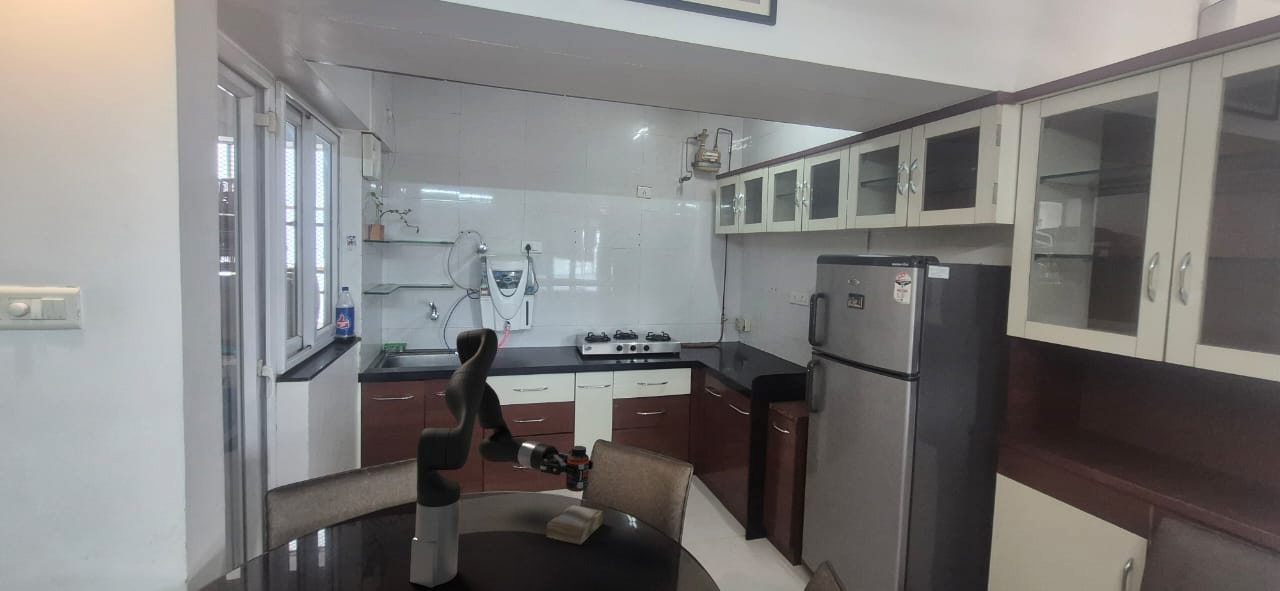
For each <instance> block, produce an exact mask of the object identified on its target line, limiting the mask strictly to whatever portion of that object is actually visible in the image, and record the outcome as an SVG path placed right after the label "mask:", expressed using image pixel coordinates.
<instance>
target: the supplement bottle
mask: <svg viewBox="0 0 1280 591" xmlns="http://www.w3.org/2000/svg"><path fill="white" fill-rule="evenodd" d="M570 451H571V452H572V453H571V454H570V455H569V456H568V459H567V465H572V466H576V467H578V468H579V475H577V476H575V475H571V474H567V473H566V480H565V488H566V490H568V491H570V492H576V493H579V492H584V491H585V490H587V488H588V484H589V470H590V469H589V460H590V457H589V455H588V454H587V447H586V446H583V445H574V446H572V447H571V450H570Z"/></svg>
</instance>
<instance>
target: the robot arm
mask: <svg viewBox="0 0 1280 591" xmlns="http://www.w3.org/2000/svg"><path fill="white" fill-rule="evenodd" d="M498 340H499V339H498V336H497V332H495V330H494V329H492V328H487V327H486V328H485V327H484V328H476V329H470V330H465V331H461V332H459V333H458V335H457V337H456V351H457V355H458V358H459V359H458V360H459V361H460V364H461V365H460V367H458V368H457V369H456V370H455V371H454V372H453V373H452V375H451V377H450V378H449V380H448V383H447V386H446V389H445V392H444V401H445V404H446V408H448V410H449V412H450V413H451V415H452V416H453V418H454V419H455V421H456V424H457V427H426V428H424V429H422V431H421V432H420V434H419V437H418V440H417V443H416V444H417V446H416V513H415V534H414V537H413V538H412V539H411V552H410V572H409V574H410V577H409V578H410V579H409V582H411V583H414V584H418V585H421V586H425V587H428V588H430V589H431V588H434V587H436V586H438V585H442V584H445V583H446V584H447V583H449V582H450V581H452V580H453V579H454V578H455V577H456V576H457V574H458V555H459V534H460V530H459V529H460V512H461V492H462V491H461V486H460V484H459V483H458V482H456V481H454V480H452V479H450V478H447V477H445V476H443V475H442V474H441V473H439V471H457V470H461V469H462V468H464V467H465V465H466V463H467V461H468V458H469V453H470V448H471V444H472V438H473V432H474V427H475V422H476V419H478V420H477V421H478V424H479V426H480V428H481V429H482V430H492V434H490V435H488V436H487V437H485V438H483V439H482V440H480V443H479V444H478V449H477V450H478V453H479V456H480V457H481V458H482V459H484V460H485V461H487V462H490V463H514V464H517V465H521V466H524V467H525V468H528V469H532V470H535V471H538V472H540V473H545V474H549V475H554V476H560V475H561V474H562V475H565V474H566V475H567V474H571V475H575V476H577V475H579V468H578V467H576V466H572V465H567V459H568V456H569V455H570V454H571V453H572V452H571V450H570V451H568V453H565V452H559V451H558V449H557V448H556V446H554V445H551V444H548V443H544V442H538V441H535V440H534V441H533V440H527V439H522V438H519V437H517V438H514V437H513V434H512V432H511V430H510V428H509V427H508V425H507V424H508V423H507V422H506V421H505V419H504V417H503V412H502V405H501V402H500V398H499V396H498V393H496V391H495V390H494V389H493V387H492V386H491V385H490V384H489V383H488V382H487V379H488V376H489V372H490V370H491V367H492V365H493V363H494V361H495V358H496V356H497V353H498V352H497V351H498V349H499V348H498V347H499V341H498ZM593 468H594V461H592V460H590V459H589V469H588V470H592V469H593Z"/></svg>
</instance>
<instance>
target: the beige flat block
mask: <svg viewBox="0 0 1280 591" xmlns="http://www.w3.org/2000/svg"><path fill="white" fill-rule="evenodd" d="M603 517H604V511H603V510H600V509H595V508H590V507H585V506H581V505H575V504H569V506H568V507H566V508H565V509H564V510H563V511H561V512H560V513H559V514H558V515H556V516H554V517H553V519H551V520H550V521H549V522H547V523H546V538H548V537H549V539H552V538H553V539H554V540H558V541H561V542H566V543H571V544H574V545H579V546H581V545H582V544H583V543H585V541H586V540H587V539H588V538H589V537H590V536H592V534H593V533H594V532H595V531H596V530H597V529H598V528H599V527H601V526H602V525H603V521H604V520H603Z"/></svg>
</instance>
